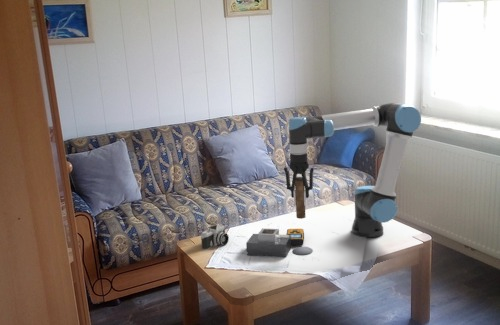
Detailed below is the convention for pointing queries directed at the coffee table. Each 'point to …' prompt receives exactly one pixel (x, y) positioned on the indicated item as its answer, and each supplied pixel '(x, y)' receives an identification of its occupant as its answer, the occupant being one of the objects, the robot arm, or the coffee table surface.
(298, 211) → the brown cylinder with cap
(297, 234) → the electronic device
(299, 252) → the coaster
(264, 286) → the coffee table surface
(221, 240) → the camera
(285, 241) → the box
